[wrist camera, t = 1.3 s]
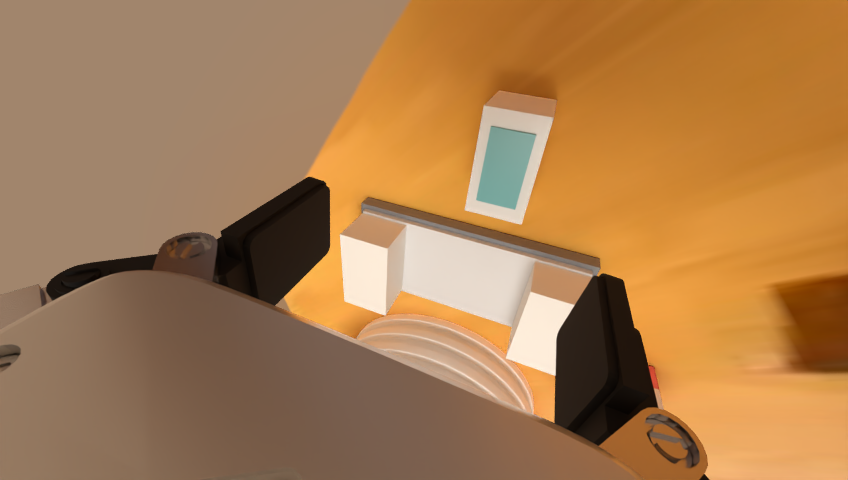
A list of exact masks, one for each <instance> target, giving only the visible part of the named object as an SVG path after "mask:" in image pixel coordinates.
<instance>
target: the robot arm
mask: <svg viewBox="0 0 848 480" xmlns="http://www.w3.org/2000/svg"><path fill="white" fill-rule="evenodd" d="M221 235H222V237H220V238H218V239H216V238H215V237H214V236H212V235H210V234H206V233H202V232H191V233H184V234H181V235H178V236H175V237H173V238H171V239H169V240H167V241H166V242H165V243H163V244H162V246H161V247H160V249H159V252H158V254H155V255H147V256H139V257H131V258H124V259H116V260H108V261H101V262H93V263H87V264H83V265H77V266H74V267H72V268H69V269H67V270H65V271H63V272H61V273H60V274H58V275H56V276H55V277H54V278H52V279H51V281H50V282H49V283H48V285H47V287H45V288H41V287H40V285H39V284H37V285H33V286H30V287H26V288H22V289H19V290H15V291H12V292H9V293H4V294H1V295H0V480H709V479H708V478H707V476H706V475H705V474H704V473H705V471H706V469H707V466H708V462H707V455H706V452H705V450H704V447H703V445H702V443H701V442H700V440H699V439H698V437H697V436H696V434H695V433H694V432H693V431H692V430H691V429H690V428H689V427H688V426H687V425H686V424H685V423H684V422H683V421H681V420H680V419H679V418H678V417H676V416H675V415H673V414H671V413H669V412H667V411H665V410H662V409H659V408H658V403H657V399H656V395H655V391H654V387H653V383H652V379H651V375H650V371H649V367H648V363H647V359H646V354H645V350H644V346H643V342H642V338H641V335H640V332H639V331H638V330H637V329H636V328H634V324H633V320H632V315H631V311H630V307H629V302H628V298H627V294H626V289H625V285H624V281H623V280H622V279H619V278H616V277H613V276H610V275H607V274H604V273H603V274H601V275H600V276H599V277H598V276H593V277H592V278H591V280H590V282H589V283H588V285H587V286H586V288H585V289H584V291H583V293H582V294H581V296H580V297H579V299H578V301H577V302H576V304H575V305H574V307H573V309H572V310H571V312H570V313H569V315H568V316H567V318H566V320H565V321H564V323H563V324H562V326H561V328H560V329H559V331H558V334H557V338H556V376H555V423H553V422H551V421H548V420H546V419H544V418H541V417H539V416H537V415H535V414H532V413H530V412H528V411H525V410H523V409H521V408H519V407H516V406H514V405H512V404H510V403H507V402H505V401H503V400H500V399H498V398H496V397H493V396H491V395H489V394H486V393H484V392H481V391H479V390H477V389H474V388H472V387H470V386H467V385H465V384H462V383H460V382H458V381H455V380H453V379H451V378H448V377H446V376H443V375H441V374H439V373H436V372H434V371H432V370H429V369H427V368H424V367H422V366H420V365H417V364H415V363H412V362H410V361H408V360H405V359H403V358H400V357H398V356H396V355H393V354H391V353H388V352H386V351H384V350H381V349H379V348H376V347H374V346H372V345H369V344H367V343H364V342H362V341H359V340H357V339H355V338H352V337H350V336H347V335H345V334H343V333H340V332H338V331H335V330H333V329H330V328H328V327H326V326H323V325H321V324H318V323H316V322H313V321H311V320H308V319H306V318H303V317H301V316H299V315H296V314H294V313H291V312H289V311H286V310H284V309H281V308H279V307H276V306H275V305H276V304H277V303H278V302H279V301H280V300H281V299H282V298H283V297H284V296H285V295H286V294H287V293H288V292H289V291H290V290H291V289H292V288H293V287H294V286H295V285H296V284H297V283H298V282H299V281H300V280H301V279H302V278H303V277H304V276H305V275H306V274H307V273H308V272H309V271H310V270H311V269H312V268H313V267H314V266H315V265H316V264H317V263H318V262H319V261H320V260H321V259H322V258H323V257H324V256H325V255H326V254H327V253H328V251H329V248H330V189H329V187H327V186H326V183H325V182H324V181H321V180H318V179H315V178H312V177H307V178H305V179H304V180H302V181H301V182H299V183H297V184H296V185H294V186H293V187H291V188H290V189H288V190H286V191H285V192H283V193H282V194H280V195H278V196H277V197H275V198H274V199H272V200H270V201H269V202H267V203H265V204H264V205H262V206H260V207H259V208H257V209H256V210H254V211H252V212H251V213H249V214H248V215H246V216H244V217H243V218H241V219H240V220H238V221H236V222H235V223H233V224H232V225H230V226H228V227H227V228H225V229H224V230H222V231H221Z"/></svg>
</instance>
